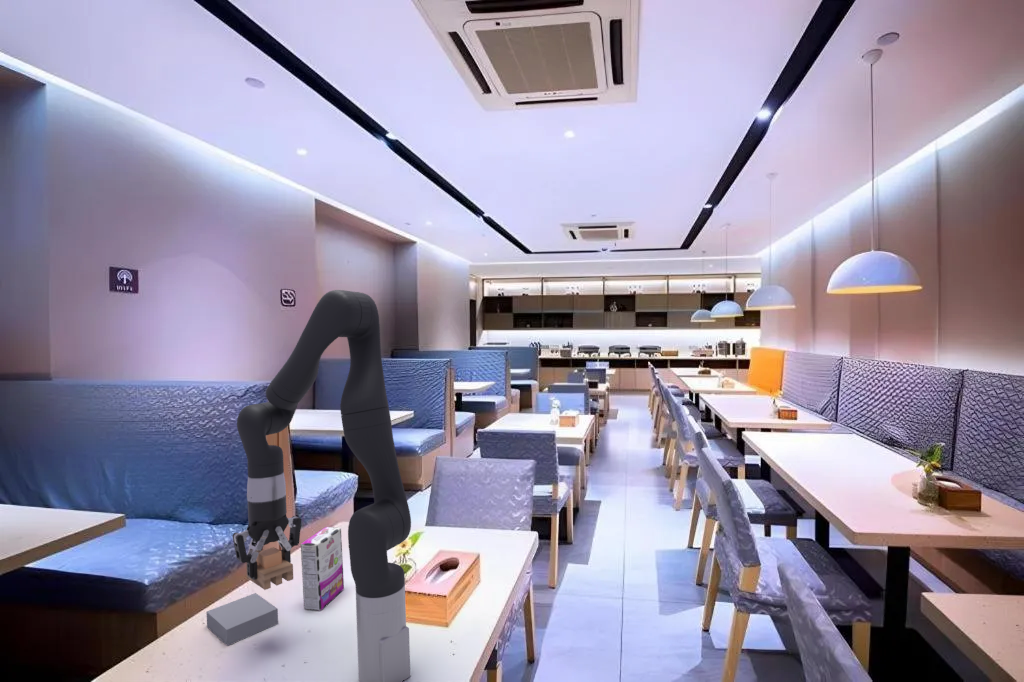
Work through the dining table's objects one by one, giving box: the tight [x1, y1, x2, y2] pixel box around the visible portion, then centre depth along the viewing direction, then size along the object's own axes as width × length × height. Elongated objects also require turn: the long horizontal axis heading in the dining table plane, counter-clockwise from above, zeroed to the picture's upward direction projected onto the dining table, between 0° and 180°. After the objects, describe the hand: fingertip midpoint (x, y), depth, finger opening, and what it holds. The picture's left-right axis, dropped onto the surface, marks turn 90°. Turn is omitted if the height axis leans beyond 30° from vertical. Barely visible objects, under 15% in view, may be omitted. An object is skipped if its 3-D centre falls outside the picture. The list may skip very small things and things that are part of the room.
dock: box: [206, 592, 279, 646], centre depth 120 cm, size 12×11×4 cm
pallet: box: [245, 559, 294, 591], centre depth 112 cm, size 9×6×3 cm, turn 49°
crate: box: [256, 546, 282, 569], centre depth 112 cm, size 4×4×3 cm
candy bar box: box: [300, 526, 345, 611], centre depth 131 cm, size 11×5×16 cm, turn 168°
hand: (269, 572), depth 112 cm, fingers closed on pallet, 6 cm apart
